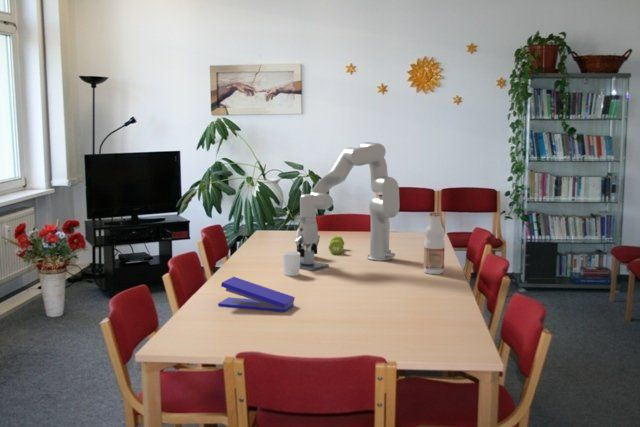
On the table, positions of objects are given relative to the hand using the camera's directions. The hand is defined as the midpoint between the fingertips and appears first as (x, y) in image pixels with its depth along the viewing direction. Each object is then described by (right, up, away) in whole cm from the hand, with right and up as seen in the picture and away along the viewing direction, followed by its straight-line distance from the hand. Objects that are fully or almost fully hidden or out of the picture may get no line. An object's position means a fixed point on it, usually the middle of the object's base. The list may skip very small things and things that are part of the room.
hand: (307, 255), depth 355 cm
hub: (-1, -3, +1) cm, 3 cm away
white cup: (-7, -8, -16) cm, 20 cm away
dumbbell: (+15, -1, +37) cm, 40 cm away
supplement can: (-2, -2, +24) cm, 24 cm away
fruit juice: (+59, -8, -10) cm, 60 cm away
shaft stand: (0, -6, +1) cm, 6 cm away
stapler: (-19, -16, -70) cm, 74 cm away
